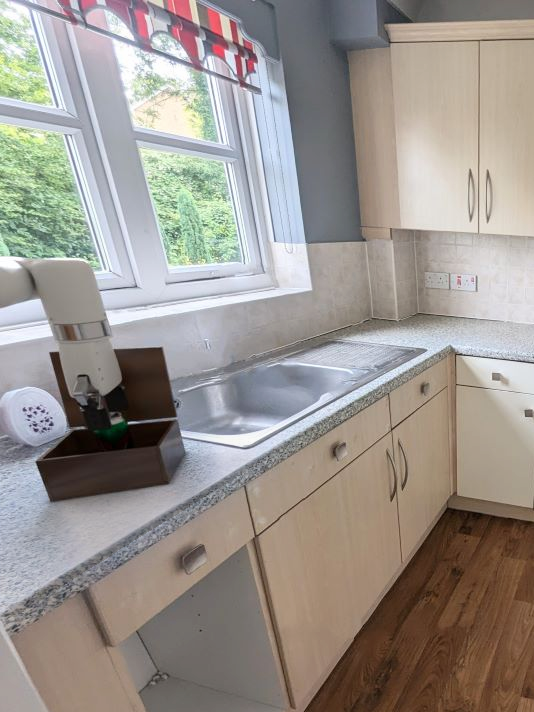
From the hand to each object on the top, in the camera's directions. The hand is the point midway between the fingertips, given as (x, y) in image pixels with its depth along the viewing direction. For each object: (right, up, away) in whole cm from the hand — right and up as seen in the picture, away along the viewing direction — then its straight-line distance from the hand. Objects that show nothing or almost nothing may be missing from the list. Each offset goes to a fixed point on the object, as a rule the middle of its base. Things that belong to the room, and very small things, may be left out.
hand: (110, 419), depth 86 cm
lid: (-3, +6, +5) cm, 9 cm away
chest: (-1, -11, +4) cm, 12 cm away
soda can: (-1, -11, +4) cm, 11 cm away
